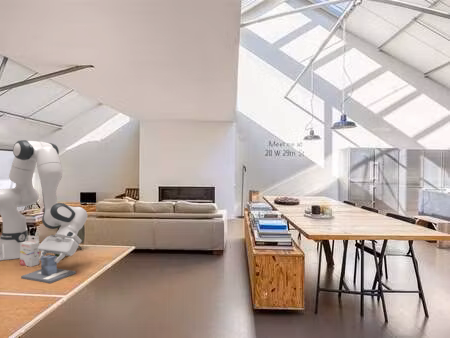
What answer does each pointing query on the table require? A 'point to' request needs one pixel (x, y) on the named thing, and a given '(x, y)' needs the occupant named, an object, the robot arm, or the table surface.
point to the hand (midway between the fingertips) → (48, 261)
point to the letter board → (48, 279)
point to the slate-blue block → (48, 265)
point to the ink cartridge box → (29, 252)
